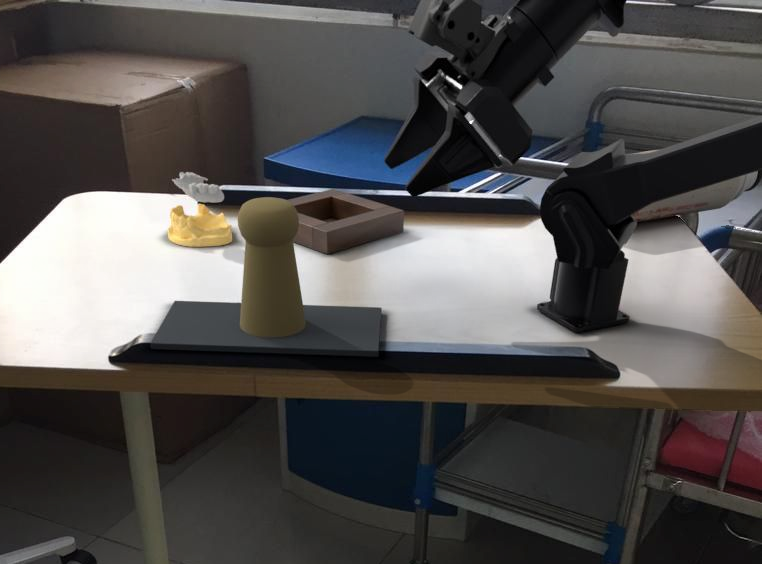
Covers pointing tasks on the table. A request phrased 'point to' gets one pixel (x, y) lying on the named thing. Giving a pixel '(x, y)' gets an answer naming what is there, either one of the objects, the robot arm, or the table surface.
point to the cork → (270, 269)
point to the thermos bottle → (700, 197)
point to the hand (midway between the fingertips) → (397, 178)
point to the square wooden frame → (343, 220)
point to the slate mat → (223, 333)
